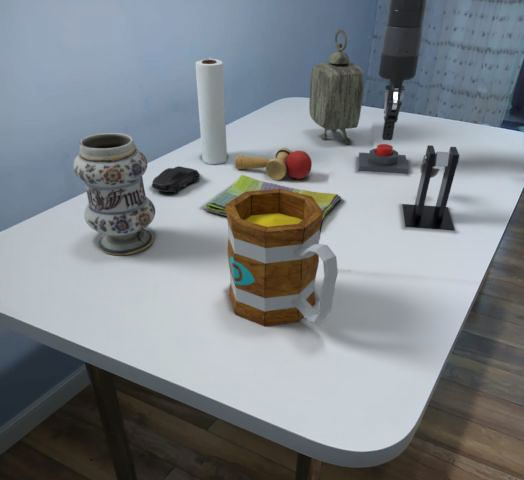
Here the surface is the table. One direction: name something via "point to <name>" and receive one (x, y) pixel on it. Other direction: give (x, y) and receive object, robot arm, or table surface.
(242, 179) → the dish towel
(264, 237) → the mug
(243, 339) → the table surface
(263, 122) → the table surface
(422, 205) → the crank bracket
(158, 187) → the toy car
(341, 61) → the tabletop clock
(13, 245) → the table surface
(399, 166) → the button box
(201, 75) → the paper towel roll
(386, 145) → the button
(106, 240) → the apothecary jar
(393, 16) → the robot arm
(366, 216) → the table surface
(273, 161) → the kendama
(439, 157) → the crank
